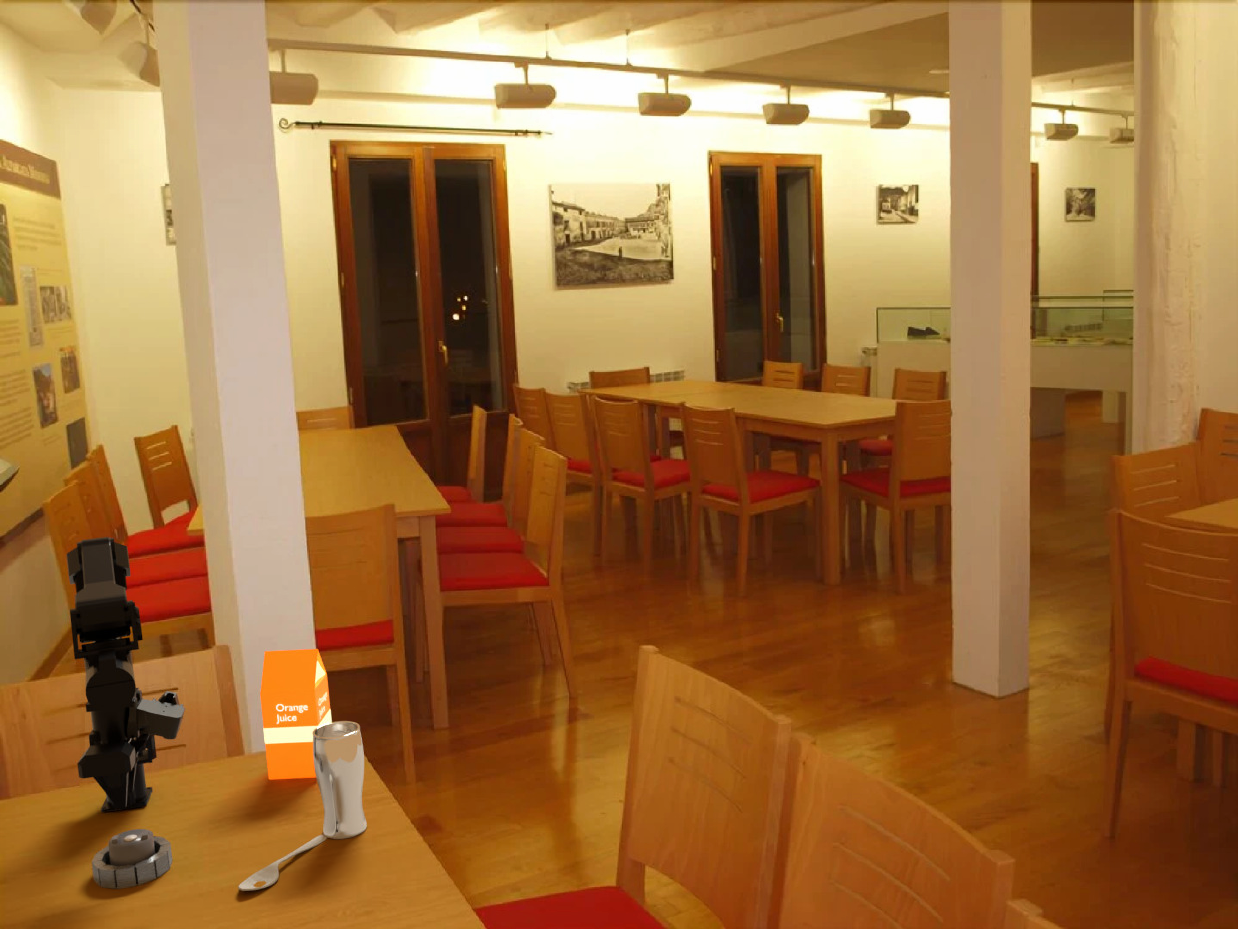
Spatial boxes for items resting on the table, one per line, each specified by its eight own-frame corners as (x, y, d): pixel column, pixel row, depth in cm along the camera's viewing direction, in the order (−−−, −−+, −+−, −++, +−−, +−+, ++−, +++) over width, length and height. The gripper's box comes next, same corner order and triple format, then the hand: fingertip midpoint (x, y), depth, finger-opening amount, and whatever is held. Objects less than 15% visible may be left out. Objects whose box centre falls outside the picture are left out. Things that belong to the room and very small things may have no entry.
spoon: (229, 898, 149) (228, 886, 149) (325, 826, 168) (324, 816, 167) (255, 903, 147) (254, 891, 147) (349, 830, 166) (349, 819, 166)
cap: (116, 863, 159) (112, 829, 158) (159, 857, 160) (155, 823, 159) (108, 883, 153) (103, 848, 153) (152, 877, 155) (149, 841, 154)
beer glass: (357, 842, 161) (348, 739, 159) (311, 839, 163) (301, 738, 161) (377, 819, 168) (369, 721, 166) (333, 817, 170) (324, 719, 167)
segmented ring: (103, 859, 160) (100, 842, 160) (176, 848, 162) (174, 831, 162) (87, 893, 151) (85, 875, 151) (165, 881, 153) (163, 863, 153)
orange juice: (323, 777, 184) (311, 656, 181) (267, 780, 184) (255, 659, 181) (335, 757, 192) (324, 641, 189) (282, 760, 192) (270, 643, 189)
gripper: (165, 704, 146) (178, 821, 148) (185, 660, 164) (197, 765, 166) (70, 716, 143) (85, 834, 145) (101, 670, 161) (114, 776, 163)
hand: (125, 800), depth 155 cm, fingers open, 5 cm apart
